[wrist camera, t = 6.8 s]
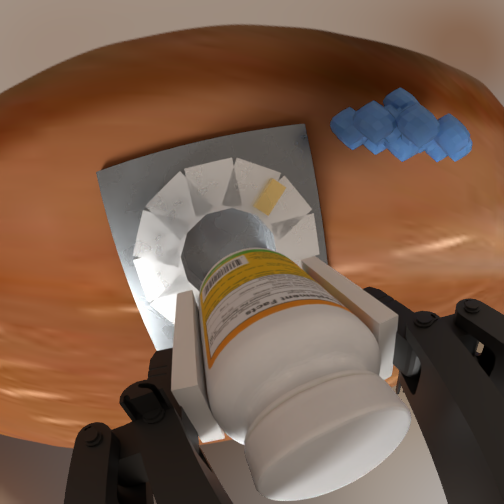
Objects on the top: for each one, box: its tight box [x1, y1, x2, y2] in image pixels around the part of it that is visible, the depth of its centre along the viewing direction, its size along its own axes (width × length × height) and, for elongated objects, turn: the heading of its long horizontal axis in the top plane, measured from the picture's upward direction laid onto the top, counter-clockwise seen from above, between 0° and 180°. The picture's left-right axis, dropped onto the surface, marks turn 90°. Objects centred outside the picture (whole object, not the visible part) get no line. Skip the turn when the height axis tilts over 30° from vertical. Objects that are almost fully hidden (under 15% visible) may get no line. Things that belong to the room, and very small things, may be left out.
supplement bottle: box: [198, 248, 411, 501], centre depth 9 cm, size 5×5×10 cm
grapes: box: [330, 87, 472, 162], centre depth 18 cm, size 12×7×12 cm, turn 88°
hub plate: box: [96, 124, 328, 351], centre depth 22 cm, size 18×18×5 cm
